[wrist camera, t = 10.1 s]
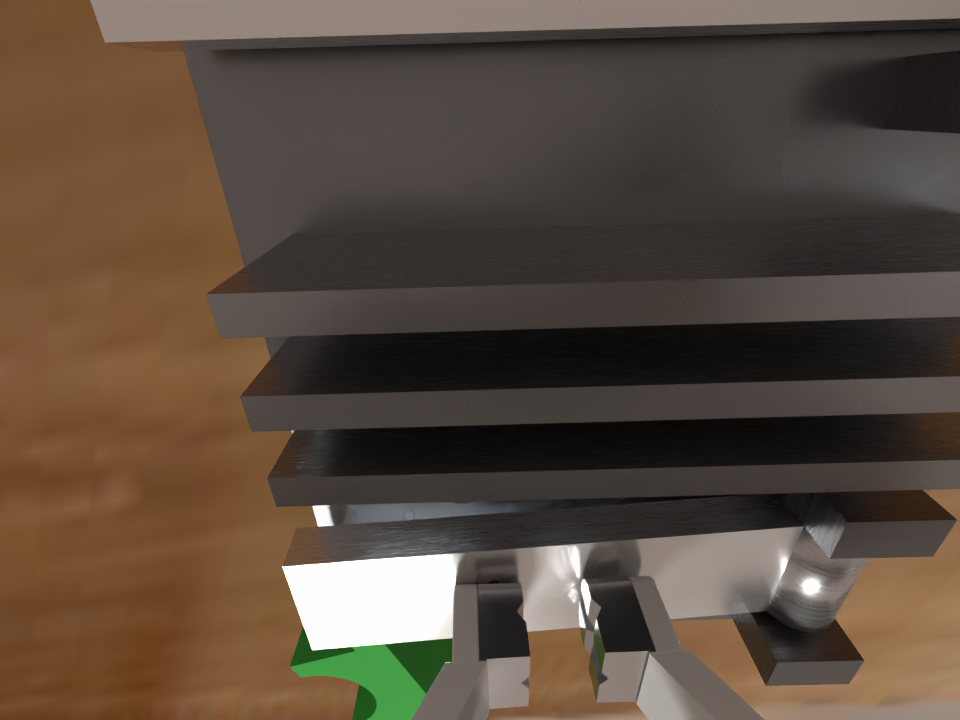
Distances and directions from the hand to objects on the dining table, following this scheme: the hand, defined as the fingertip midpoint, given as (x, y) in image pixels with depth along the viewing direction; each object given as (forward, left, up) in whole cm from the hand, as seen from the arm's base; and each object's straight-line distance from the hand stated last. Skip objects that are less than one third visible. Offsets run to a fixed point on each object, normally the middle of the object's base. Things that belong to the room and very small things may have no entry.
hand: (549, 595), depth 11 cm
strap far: (-1, 0, -1) cm, 2 cm away
